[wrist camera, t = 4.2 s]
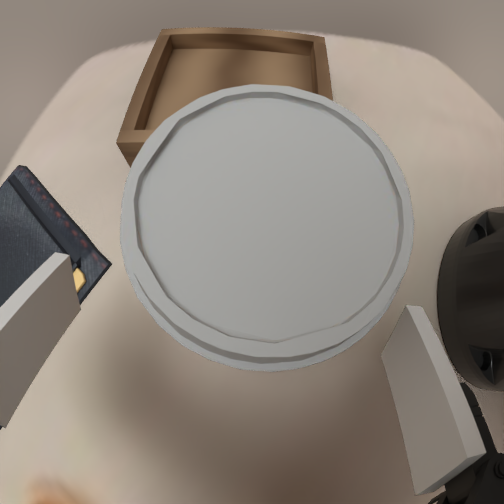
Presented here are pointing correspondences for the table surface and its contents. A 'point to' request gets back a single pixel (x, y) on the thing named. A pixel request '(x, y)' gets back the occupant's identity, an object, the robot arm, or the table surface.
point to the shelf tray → (218, 72)
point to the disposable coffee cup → (266, 227)
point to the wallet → (41, 237)
